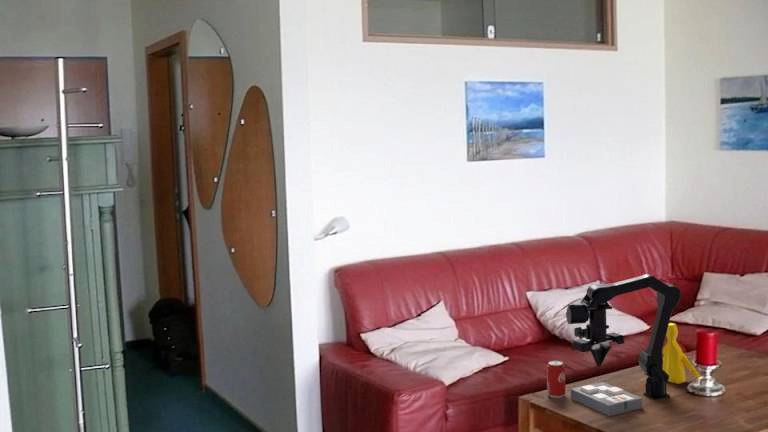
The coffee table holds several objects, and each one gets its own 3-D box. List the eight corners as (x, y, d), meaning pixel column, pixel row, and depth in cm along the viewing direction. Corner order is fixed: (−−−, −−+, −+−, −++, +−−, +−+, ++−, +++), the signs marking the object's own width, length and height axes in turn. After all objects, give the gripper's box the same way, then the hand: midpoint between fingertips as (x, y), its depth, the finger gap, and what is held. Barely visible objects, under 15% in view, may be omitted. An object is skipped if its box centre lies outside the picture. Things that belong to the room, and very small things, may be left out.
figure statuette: (703, 384, 298) (703, 324, 295) (691, 389, 293) (691, 328, 290) (659, 374, 312) (658, 316, 309) (647, 379, 307) (646, 320, 304)
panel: (603, 391, 295) (602, 381, 295) (642, 408, 277) (642, 397, 277) (570, 398, 289) (570, 387, 289) (608, 416, 271) (608, 404, 271)
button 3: (604, 392, 291) (604, 385, 291) (611, 395, 288) (611, 388, 288) (594, 394, 290) (594, 387, 290) (602, 397, 286) (602, 390, 286)
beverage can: (565, 399, 289) (564, 365, 288) (547, 398, 291) (546, 365, 289) (565, 393, 295) (564, 360, 294) (547, 392, 297) (546, 359, 295)
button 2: (601, 400, 284) (601, 393, 283) (609, 403, 280) (609, 396, 280) (592, 402, 282) (592, 395, 282) (599, 405, 278) (599, 398, 278)
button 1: (590, 391, 289) (590, 384, 289) (597, 395, 285) (597, 388, 285) (580, 393, 287) (580, 386, 287) (588, 397, 284) (588, 390, 283)
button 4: (615, 393, 286) (615, 386, 286) (623, 396, 282) (623, 389, 282) (606, 395, 284) (606, 388, 284) (613, 399, 281) (613, 391, 280)
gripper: (602, 313, 295) (603, 356, 297) (560, 321, 287) (562, 365, 289) (625, 319, 285) (625, 363, 287) (582, 328, 277) (583, 373, 279)
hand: (598, 366), depth 286 cm, fingers closed
